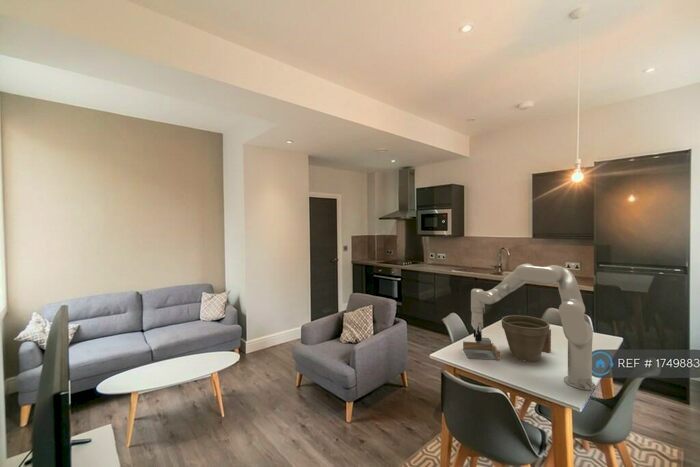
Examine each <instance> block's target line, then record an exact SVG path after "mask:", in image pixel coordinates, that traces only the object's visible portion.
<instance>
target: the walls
mask: <svg viewBox="0 0 700 467" xmlns="http://www.w3.org/2000/svg"><path fill="white" fill-rule="evenodd" d="M462 348H463V349H462V350H463V351H464V349H473V350H491V351H492V352H493V353H494V354H495V356H496V357H497V359H498V360H497V361H500V360H501V351H500V350H499V348H498V347H497V346H496V345H495V344H494V342H491V344H478V343H476V341H465V340H463V341H462ZM499 359H500V360H499Z"/></svg>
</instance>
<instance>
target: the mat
mask: <svg viewBox="0 0 700 467" xmlns="http://www.w3.org/2000/svg"><path fill="white" fill-rule="evenodd" d="M463 351H464V353H465V355H466V358H467V359H468V360H469V359H473V360H486V361H488V360H490V361H501V358H500V359H499V360H498V359H497V357H496V356H495V354H494V353H493V352H492V351H491V350H473V349H464V350H463Z"/></svg>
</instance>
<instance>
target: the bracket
mask: <svg viewBox="0 0 700 467" xmlns="http://www.w3.org/2000/svg"><path fill="white" fill-rule="evenodd" d="M477 329H479V328H477ZM478 331H479V330H478ZM474 342H476V343H478V344H491V343H492V340H491V338H489V337H482V341H476V330H475V337H474Z"/></svg>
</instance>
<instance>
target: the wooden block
mask: <svg viewBox="0 0 700 467" xmlns="http://www.w3.org/2000/svg"><path fill="white" fill-rule="evenodd" d="M551 336H552V329H550V328H549V333H548V334H547V336H546V340H545V343H544V346H543V350H542V352H543V353H544V352H545V353H551V352H552V337H551Z"/></svg>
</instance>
